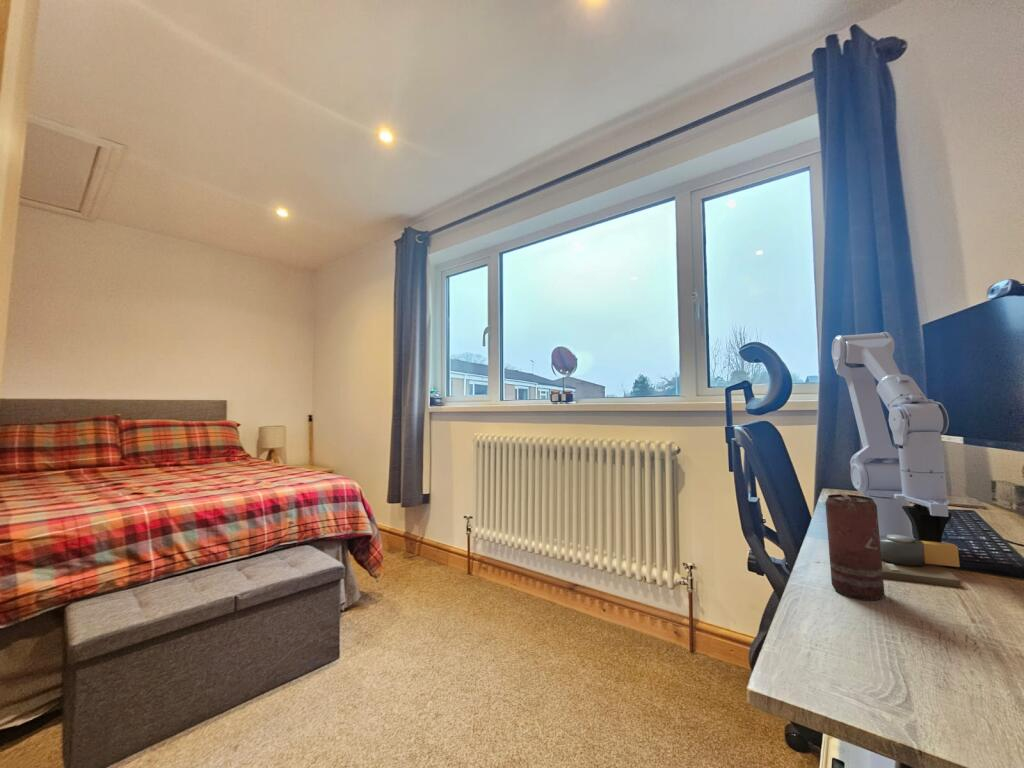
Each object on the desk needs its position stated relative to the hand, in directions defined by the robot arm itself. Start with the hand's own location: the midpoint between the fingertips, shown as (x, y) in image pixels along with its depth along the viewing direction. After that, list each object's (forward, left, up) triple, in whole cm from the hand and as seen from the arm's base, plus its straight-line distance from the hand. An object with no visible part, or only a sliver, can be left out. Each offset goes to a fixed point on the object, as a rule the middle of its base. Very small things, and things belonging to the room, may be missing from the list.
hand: (929, 549), depth 74 cm
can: (+19, -14, -2) cm, 24 cm away
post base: (+4, -5, -2) cm, 7 cm away
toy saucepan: (+4, -3, -1) cm, 5 cm away
